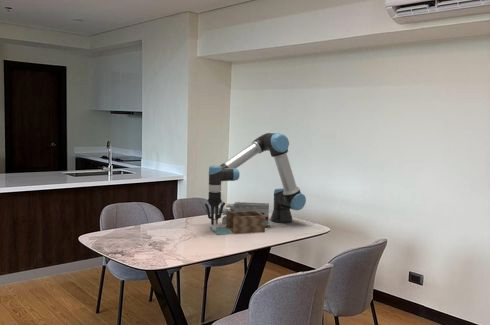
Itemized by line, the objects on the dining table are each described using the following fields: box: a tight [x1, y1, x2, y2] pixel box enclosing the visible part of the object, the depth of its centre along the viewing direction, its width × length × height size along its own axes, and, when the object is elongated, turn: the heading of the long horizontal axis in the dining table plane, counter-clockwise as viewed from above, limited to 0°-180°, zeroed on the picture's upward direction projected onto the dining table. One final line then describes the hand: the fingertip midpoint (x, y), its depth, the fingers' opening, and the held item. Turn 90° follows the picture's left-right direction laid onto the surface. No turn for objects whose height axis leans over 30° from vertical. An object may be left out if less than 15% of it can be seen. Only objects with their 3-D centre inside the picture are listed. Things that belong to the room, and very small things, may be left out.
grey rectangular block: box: [221, 201, 270, 227], centre depth 293 cm, size 8×30×15 cm, turn 84°
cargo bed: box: [225, 211, 266, 235], centre depth 275 cm, size 20×16×12 cm
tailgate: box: [209, 227, 234, 236], centre depth 270 cm, size 1×16×10 cm
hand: (214, 229), depth 269 cm, fingers closed
